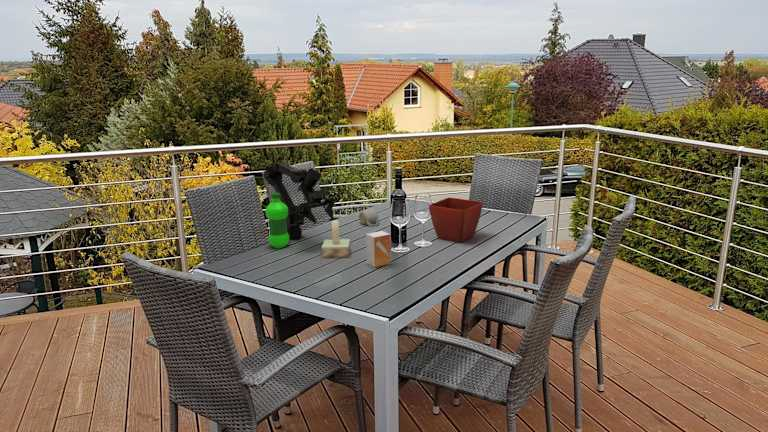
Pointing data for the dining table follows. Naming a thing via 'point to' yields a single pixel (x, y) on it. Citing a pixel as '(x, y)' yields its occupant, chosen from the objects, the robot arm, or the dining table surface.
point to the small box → (378, 248)
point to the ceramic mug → (369, 217)
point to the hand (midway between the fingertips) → (324, 221)
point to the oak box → (335, 253)
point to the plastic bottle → (277, 222)
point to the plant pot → (455, 218)
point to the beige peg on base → (336, 239)
